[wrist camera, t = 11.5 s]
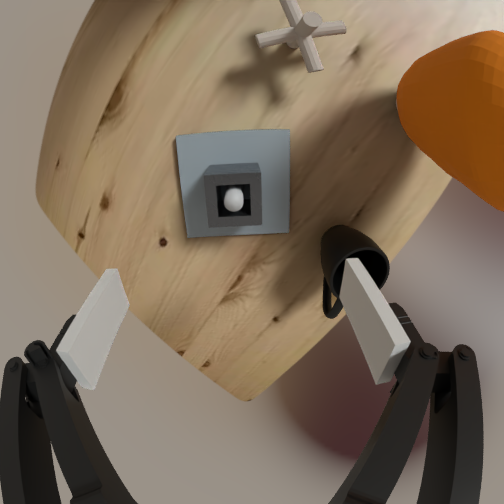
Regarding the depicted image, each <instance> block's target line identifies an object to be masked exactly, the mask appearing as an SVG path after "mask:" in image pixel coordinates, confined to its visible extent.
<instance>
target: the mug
mask: <svg viewBox="0 0 504 504" xmlns="http://www.w3.org/2000/svg"><path fill="white" fill-rule="evenodd" d="M348 258H358V259H359V260H360V261H361V263H362V264H363V266H364V267H365V269H366V270H367V272H368V273H369V275H370V276H371V278H372V279H373V281H374V282H375V284H376V285H377V287H378V289H379V290H380V289H381V288H382V287H383V285H384V284H385V282H386V280H387V278H388V275H389V269H390V268H389V260H388V258H387V256H386V255H385V253H384V252H383V251H382V250H381V249H380V248H379V246H378V245H377V244H376V243H375V242H374V241H373V240H372V239H371V238H369V237H368V236H366V235H365V234H363V233H362V232H360V231H358V230H355V229H353V228H350V227H348V226H345V225H337V226H334V227H331V228H330V229H328V230H327V231H326V232H325V234H324V235H323V237H322V240H321V263H322V269H323V273H324V283H323V312H324V314H325V316H326V317H328V318H330V319H333V318H335V317H336V316H337V315H338V314H339V313H340V311H341V310H342V308H343V305H342V302H341V300H340V298H339V296H340V291H341V285H342V279H343V273H344V267H345V261H346V259H348ZM331 292H332V293H333V295H334V296H335V297H337V300H336V302H335V304H334V306H333V307H331Z"/></svg>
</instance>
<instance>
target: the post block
mask: <svg viewBox="0 0 504 504" xmlns="http://www.w3.org/2000/svg"><path fill="white" fill-rule="evenodd" d="M176 143H177V154H178V164H179V173H180V182H181V191H182V199H183V207H184V214H185V222H186V229H187V236H188V238H191V237H209V236H228V235H248V234H270V233H289V213H290V130H289V129H260V130H235V131H219V132H207V133H196V134H187V135H178V136H176ZM256 162H258V164H259V167H260V170H261V183H262V225H256V226H235V227H215V228H209V227H208V218H207V208H206V197H205V187H204V174H205V172H206V170H207V169H208V167H209V165H217V164H233V163H256ZM221 196H222V200H224V205H225V207H226V208H227V209H228V210H229V211H233V212H235V211H238V210H240V209H241V208H242V206H243V199H250V195H249V184H236V185H221Z"/></svg>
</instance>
